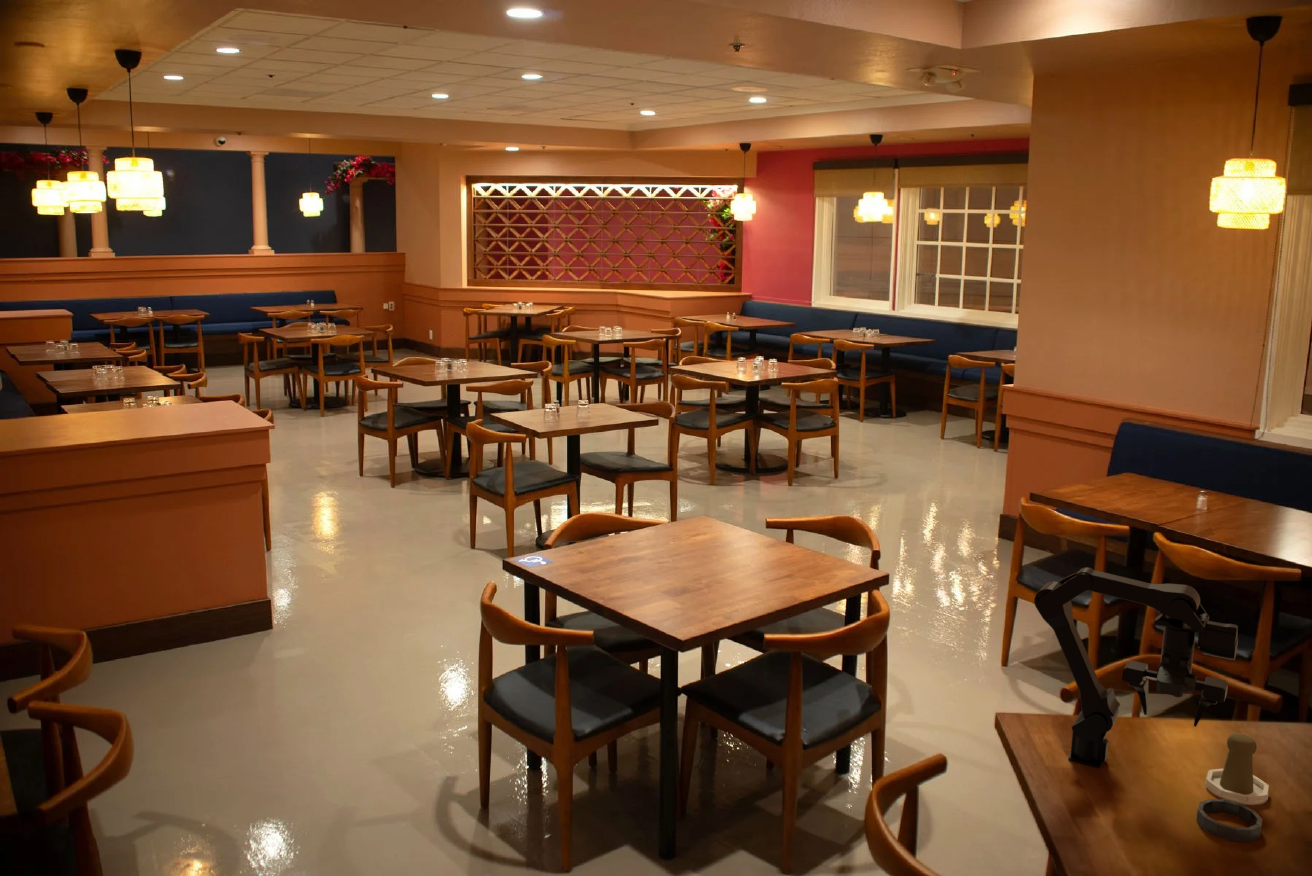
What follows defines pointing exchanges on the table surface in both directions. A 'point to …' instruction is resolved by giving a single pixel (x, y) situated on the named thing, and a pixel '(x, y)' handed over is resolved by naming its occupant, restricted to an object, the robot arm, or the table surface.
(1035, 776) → the table surface
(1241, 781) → the cork
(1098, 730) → the robot arm
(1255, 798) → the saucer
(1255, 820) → the dark grey ring
